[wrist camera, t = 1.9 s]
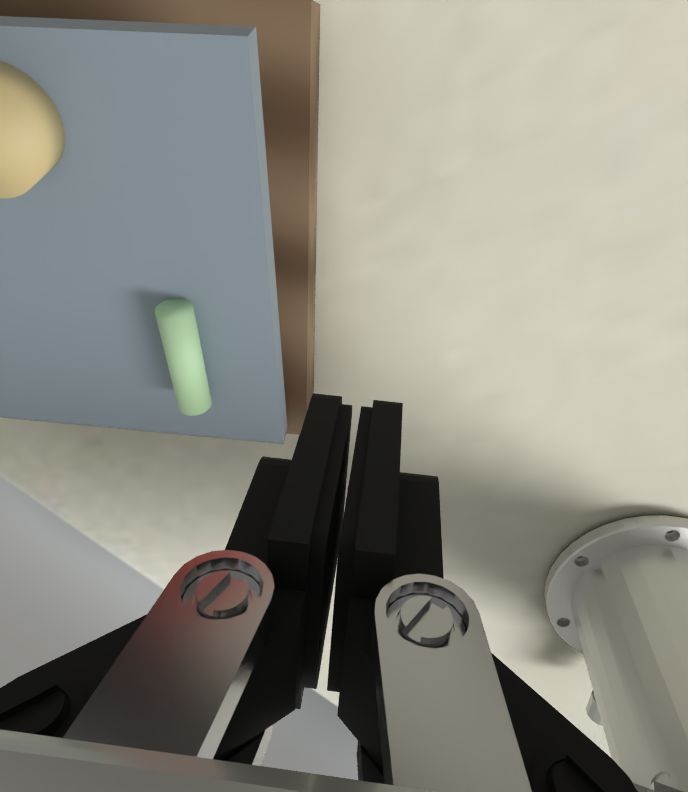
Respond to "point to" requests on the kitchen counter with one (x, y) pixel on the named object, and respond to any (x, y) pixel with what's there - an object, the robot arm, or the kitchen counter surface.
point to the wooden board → (284, 141)
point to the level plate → (137, 230)
